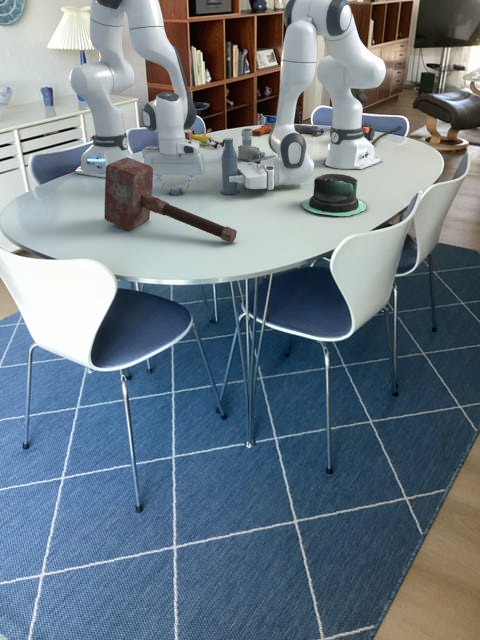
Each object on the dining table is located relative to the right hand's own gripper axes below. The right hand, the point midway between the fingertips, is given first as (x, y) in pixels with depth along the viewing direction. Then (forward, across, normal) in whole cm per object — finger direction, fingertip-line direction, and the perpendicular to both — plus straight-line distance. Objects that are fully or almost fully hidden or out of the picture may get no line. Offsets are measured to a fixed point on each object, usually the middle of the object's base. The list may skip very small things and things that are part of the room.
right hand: (227, 176), depth 187 cm
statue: (-77, -79, +5) cm, 110 cm away
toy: (-68, -54, +5) cm, 87 cm away
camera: (-18, -38, +6) cm, 42 cm away
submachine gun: (-42, -79, +5) cm, 90 cm away
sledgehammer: (+22, +33, +6) cm, 40 cm away
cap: (+18, -4, +4) cm, 18 cm away
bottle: (-1, 0, +6) cm, 6 cm away
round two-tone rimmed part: (-30, +23, +6) cm, 38 cm away
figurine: (-1, -73, +5) cm, 73 cm away
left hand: (+17, -4, +4) cm, 18 cm away
